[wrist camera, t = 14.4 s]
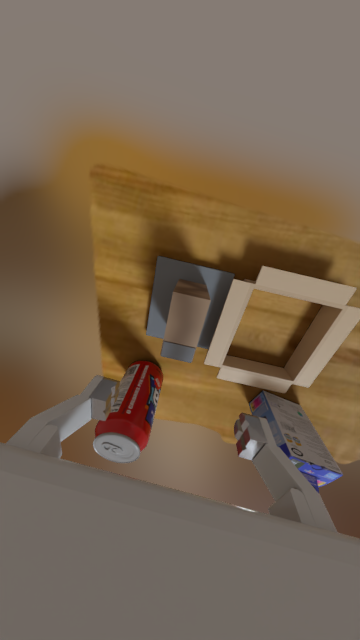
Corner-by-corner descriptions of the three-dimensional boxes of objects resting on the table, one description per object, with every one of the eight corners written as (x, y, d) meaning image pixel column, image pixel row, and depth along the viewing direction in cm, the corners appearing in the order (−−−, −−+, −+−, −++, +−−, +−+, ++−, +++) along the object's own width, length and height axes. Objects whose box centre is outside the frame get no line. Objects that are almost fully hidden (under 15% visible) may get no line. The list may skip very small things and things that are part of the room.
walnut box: (206, 285, 26) (210, 300, 19) (192, 334, 30) (191, 363, 22) (179, 278, 26) (172, 291, 19) (168, 328, 30) (160, 355, 22)
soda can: (135, 352, 34) (95, 423, 20) (170, 367, 35) (153, 446, 21) (123, 377, 37) (82, 454, 23) (155, 390, 38) (133, 472, 24)
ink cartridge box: (246, 404, 37) (274, 491, 24) (261, 388, 35) (301, 474, 22) (284, 419, 38) (331, 510, 25) (300, 404, 36) (361, 496, 23)
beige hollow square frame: (356, 287, 25) (379, 293, 22) (291, 382, 34) (301, 397, 30) (234, 258, 25) (240, 260, 22) (199, 362, 33) (200, 374, 30)
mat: (233, 273, 26) (234, 274, 25) (208, 346, 32) (208, 349, 31) (158, 255, 26) (157, 256, 25) (147, 332, 32) (146, 334, 31)
